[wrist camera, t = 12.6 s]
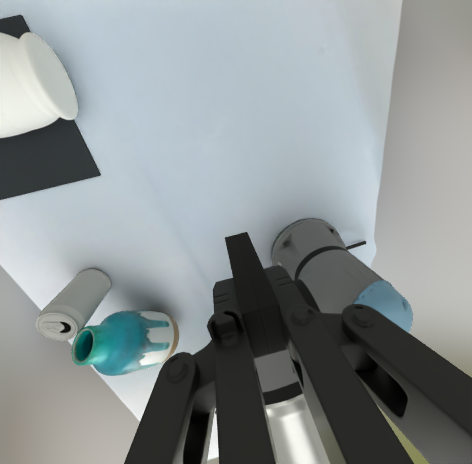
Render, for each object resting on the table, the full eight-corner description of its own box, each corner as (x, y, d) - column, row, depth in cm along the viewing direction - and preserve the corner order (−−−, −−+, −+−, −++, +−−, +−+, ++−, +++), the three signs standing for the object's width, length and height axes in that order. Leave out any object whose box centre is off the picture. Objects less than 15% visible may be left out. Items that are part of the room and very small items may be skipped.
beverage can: (110, 295, 45) (79, 345, 34) (77, 290, 43) (32, 340, 32) (114, 270, 43) (81, 315, 32) (78, 264, 41) (31, 308, 30)
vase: (151, 368, 47) (54, 394, 31) (148, 319, 52) (63, 319, 36) (190, 356, 45) (107, 377, 28) (183, 305, 50) (108, 299, 33)
